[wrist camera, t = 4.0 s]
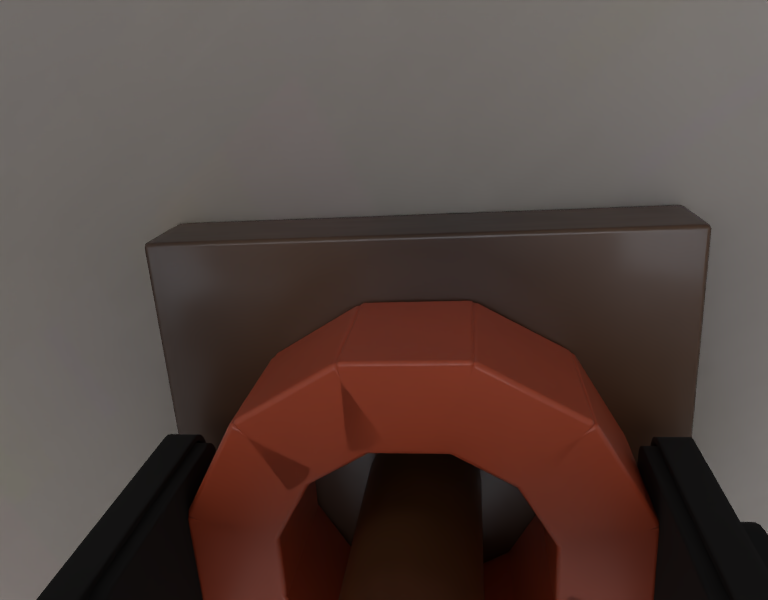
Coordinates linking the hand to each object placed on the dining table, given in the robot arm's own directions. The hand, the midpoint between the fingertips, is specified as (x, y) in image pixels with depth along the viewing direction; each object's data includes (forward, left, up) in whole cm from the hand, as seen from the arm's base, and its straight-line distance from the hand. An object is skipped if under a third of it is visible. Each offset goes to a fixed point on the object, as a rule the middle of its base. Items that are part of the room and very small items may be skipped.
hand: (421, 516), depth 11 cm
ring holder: (0, 0, -3) cm, 3 cm away
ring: (0, 0, -1) cm, 1 cm away
